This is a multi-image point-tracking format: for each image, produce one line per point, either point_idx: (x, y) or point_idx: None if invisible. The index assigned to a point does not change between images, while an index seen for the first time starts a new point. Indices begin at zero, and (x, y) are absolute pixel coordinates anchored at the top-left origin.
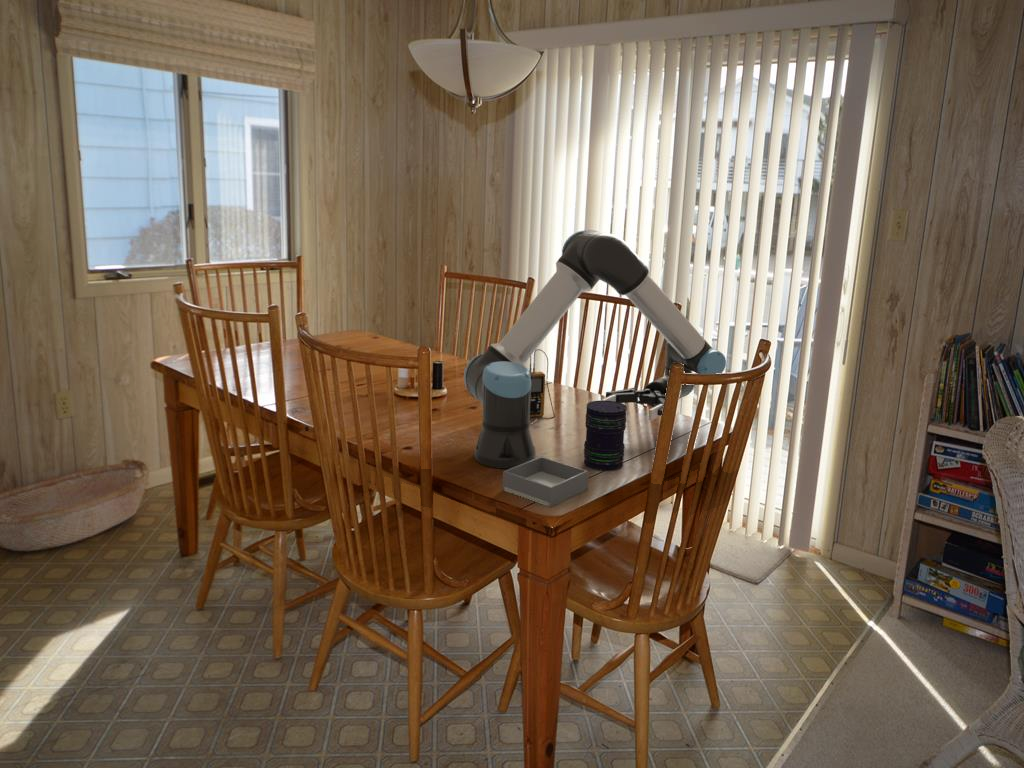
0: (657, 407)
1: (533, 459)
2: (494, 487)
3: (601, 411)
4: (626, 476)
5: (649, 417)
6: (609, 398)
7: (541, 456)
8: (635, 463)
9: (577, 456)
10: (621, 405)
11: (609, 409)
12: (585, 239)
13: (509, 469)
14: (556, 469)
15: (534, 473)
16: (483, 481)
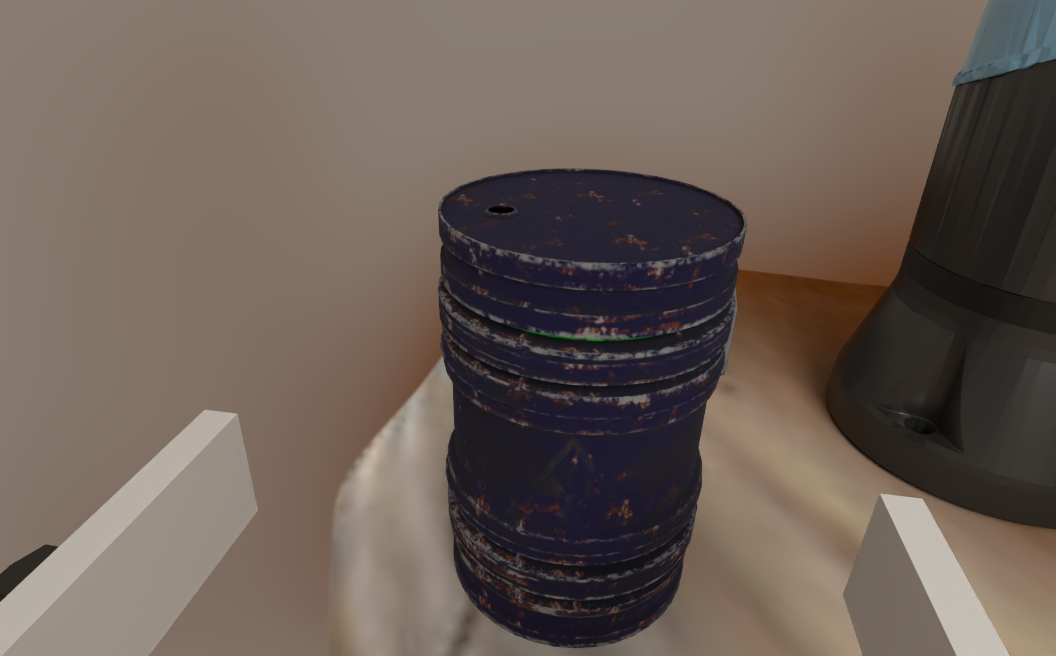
0: (97, 514)
1: (735, 289)
2: (753, 291)
3: (567, 170)
4: (406, 465)
5: (245, 486)
6: (944, 639)
7: (735, 308)
8: (387, 637)
9: (757, 583)
10: (498, 240)
11: (543, 192)
12: None
13: None
14: None
15: None
16: (811, 303)
